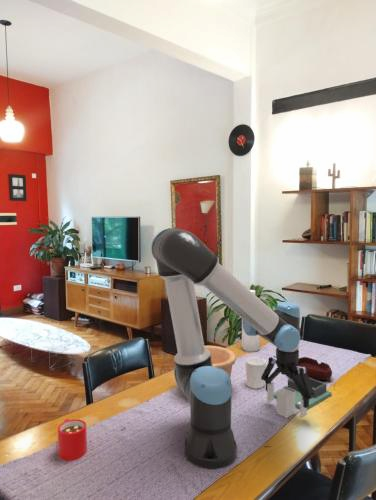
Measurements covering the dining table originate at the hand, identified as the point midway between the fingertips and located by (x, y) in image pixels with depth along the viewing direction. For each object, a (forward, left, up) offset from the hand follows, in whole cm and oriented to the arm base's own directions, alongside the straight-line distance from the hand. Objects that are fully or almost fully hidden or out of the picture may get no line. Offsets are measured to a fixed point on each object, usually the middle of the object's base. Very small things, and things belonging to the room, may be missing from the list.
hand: (286, 408), depth 136 cm
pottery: (-9, +30, -2) cm, 32 cm away
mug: (-65, +29, -2) cm, 71 cm away
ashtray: (+34, +13, -2) cm, 37 cm away
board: (+15, +4, -2) cm, 15 cm away
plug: (0, 0, -2) cm, 2 cm away
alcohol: (+39, +49, -2) cm, 63 cm away
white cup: (+9, +21, -2) cm, 23 cm away
